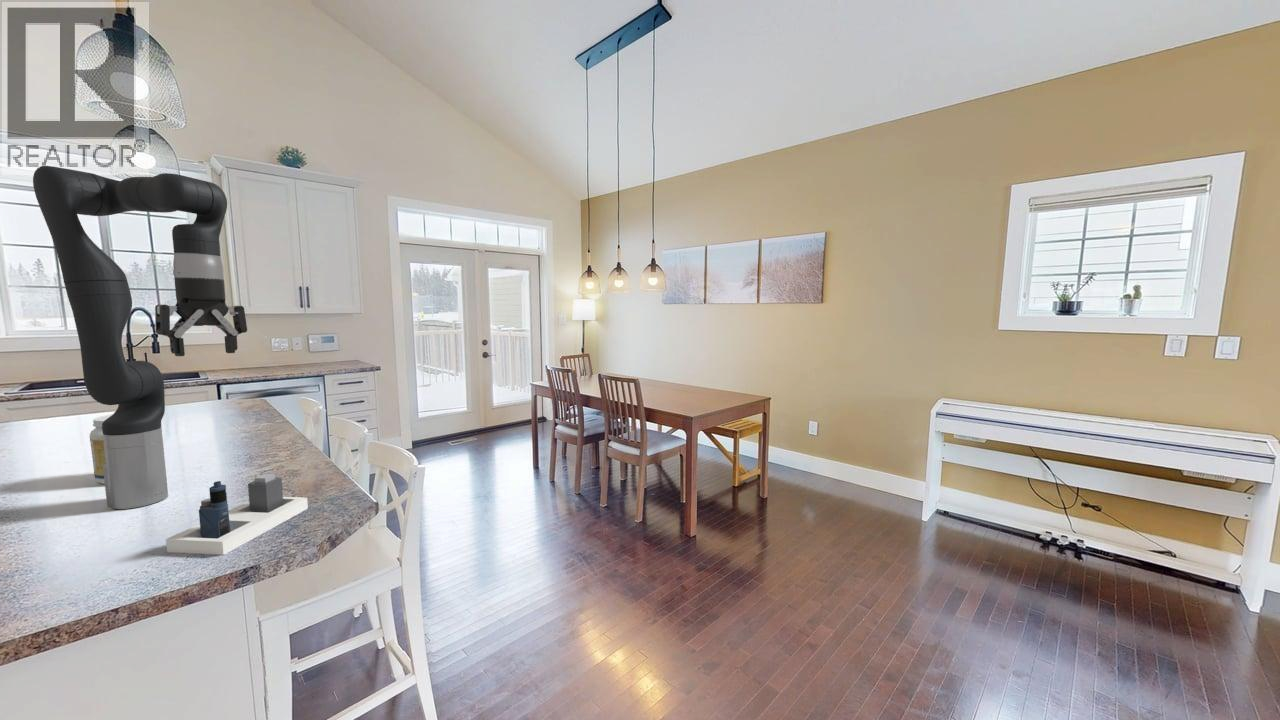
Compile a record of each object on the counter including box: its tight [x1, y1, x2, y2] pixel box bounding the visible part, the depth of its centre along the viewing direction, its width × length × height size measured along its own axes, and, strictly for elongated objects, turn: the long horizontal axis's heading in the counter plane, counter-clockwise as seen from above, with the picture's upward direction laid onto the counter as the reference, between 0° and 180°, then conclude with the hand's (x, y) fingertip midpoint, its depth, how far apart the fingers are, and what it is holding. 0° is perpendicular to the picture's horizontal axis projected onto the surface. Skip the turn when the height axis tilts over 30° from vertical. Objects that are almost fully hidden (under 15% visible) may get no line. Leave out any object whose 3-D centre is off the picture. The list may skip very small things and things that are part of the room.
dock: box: [165, 496, 309, 556], centre depth 95 cm, size 20×11×4 cm, turn 177°
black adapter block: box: [247, 473, 284, 513], centre depth 100 cm, size 4×4×9 cm
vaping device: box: [198, 480, 230, 539], centre depth 88 cm, size 3×5×12 cm, turn 78°
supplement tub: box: [89, 413, 114, 485], centre depth 123 cm, size 12×12×17 cm
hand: (206, 354), depth 97 cm, fingers open, 8 cm apart
